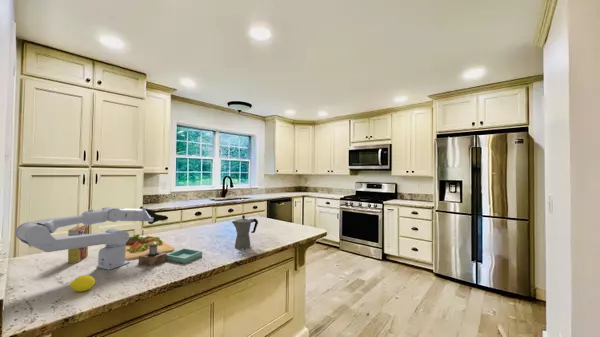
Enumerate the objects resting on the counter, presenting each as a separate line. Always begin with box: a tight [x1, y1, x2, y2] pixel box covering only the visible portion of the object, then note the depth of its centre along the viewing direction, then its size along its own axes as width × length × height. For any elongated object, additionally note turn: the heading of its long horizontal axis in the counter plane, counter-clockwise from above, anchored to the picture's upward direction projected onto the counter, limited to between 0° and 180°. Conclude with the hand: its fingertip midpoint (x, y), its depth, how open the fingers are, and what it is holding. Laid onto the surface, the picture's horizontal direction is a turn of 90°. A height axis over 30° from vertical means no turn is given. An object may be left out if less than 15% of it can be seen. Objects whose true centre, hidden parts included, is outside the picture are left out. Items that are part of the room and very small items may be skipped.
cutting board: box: [125, 234, 175, 261], centre depth 141 cm, size 35×23×8 cm
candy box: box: [67, 224, 89, 264], centre depth 120 cm, size 9×4×15 cm, turn 17°
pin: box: [147, 241, 159, 257], centre depth 120 cm, size 5×5×9 cm
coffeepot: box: [231, 214, 259, 250], centre depth 148 cm, size 15×9×18 cm, turn 118°
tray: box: [166, 247, 203, 265], centre depth 127 cm, size 12×12×2 cm
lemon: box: [69, 274, 96, 293], centre depth 91 cm, size 7×5×5 cm
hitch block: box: [138, 252, 168, 267], centre depth 120 cm, size 8×8×4 cm
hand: (158, 215), depth 134 cm, fingers open, 7 cm apart
